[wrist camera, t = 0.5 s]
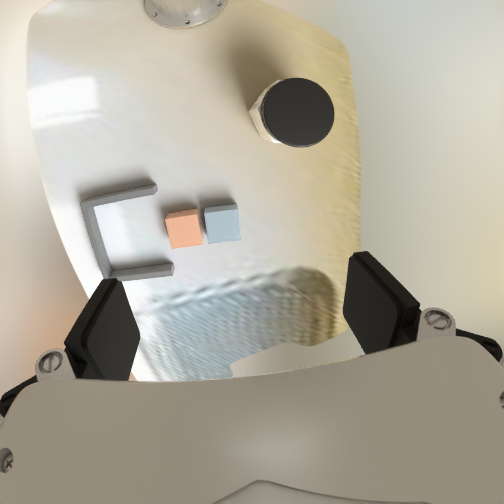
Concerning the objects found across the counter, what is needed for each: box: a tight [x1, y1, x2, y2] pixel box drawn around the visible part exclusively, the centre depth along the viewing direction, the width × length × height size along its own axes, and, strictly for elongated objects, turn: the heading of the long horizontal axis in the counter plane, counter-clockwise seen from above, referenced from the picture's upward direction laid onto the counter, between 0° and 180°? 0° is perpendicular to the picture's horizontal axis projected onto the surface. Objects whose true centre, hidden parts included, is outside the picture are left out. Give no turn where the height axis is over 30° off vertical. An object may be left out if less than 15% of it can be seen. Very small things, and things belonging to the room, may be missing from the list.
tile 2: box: [165, 209, 204, 249], centre depth 42 cm, size 5×5×3 cm
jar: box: [248, 78, 334, 147], centre depth 32 cm, size 9×8×12 cm
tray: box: [80, 184, 174, 281], centre depth 42 cm, size 15×13×2 cm
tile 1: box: [204, 204, 241, 244], centre depth 43 cm, size 5×5×3 cm
